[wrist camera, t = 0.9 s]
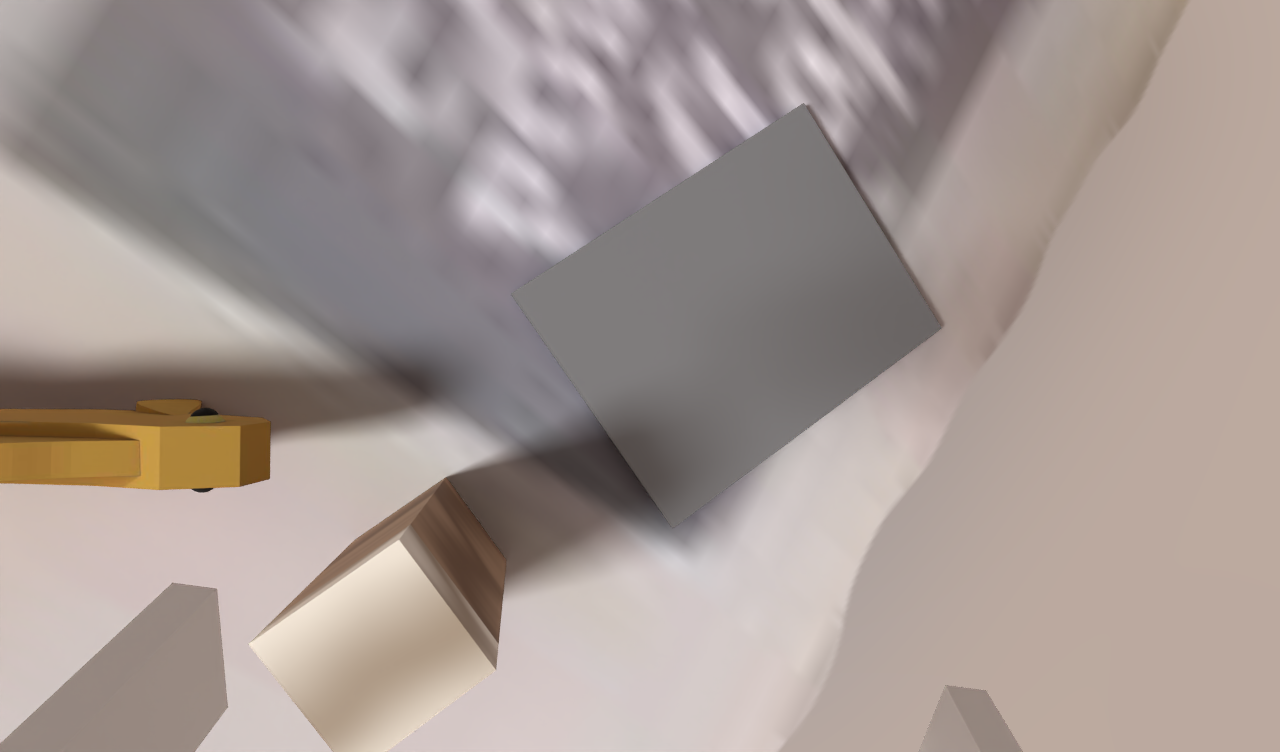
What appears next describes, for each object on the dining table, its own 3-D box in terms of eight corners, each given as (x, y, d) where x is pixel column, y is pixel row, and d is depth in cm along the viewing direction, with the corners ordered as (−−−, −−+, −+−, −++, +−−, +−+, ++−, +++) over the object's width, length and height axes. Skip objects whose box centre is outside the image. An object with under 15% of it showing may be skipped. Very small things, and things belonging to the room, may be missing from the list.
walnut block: (354, 539, 31) (248, 644, 19) (446, 477, 31) (398, 539, 19) (417, 623, 31) (352, 777, 19) (506, 560, 32) (496, 670, 20)
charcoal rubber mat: (511, 294, 32) (511, 293, 31) (798, 107, 34) (803, 102, 34) (670, 525, 33) (672, 528, 33) (935, 328, 36) (941, 328, 35)
